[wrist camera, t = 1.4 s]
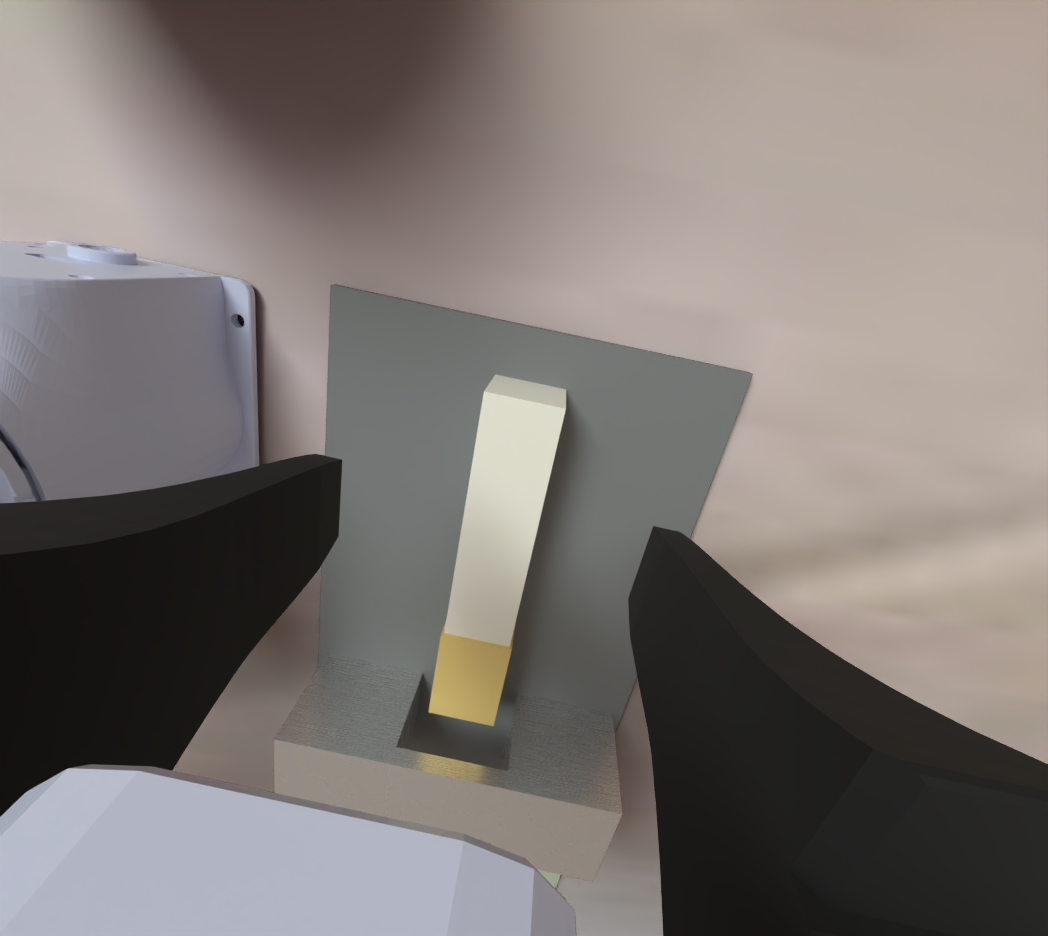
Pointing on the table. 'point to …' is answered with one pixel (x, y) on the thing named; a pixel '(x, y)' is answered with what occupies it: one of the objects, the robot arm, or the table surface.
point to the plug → (496, 544)
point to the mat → (442, 483)
